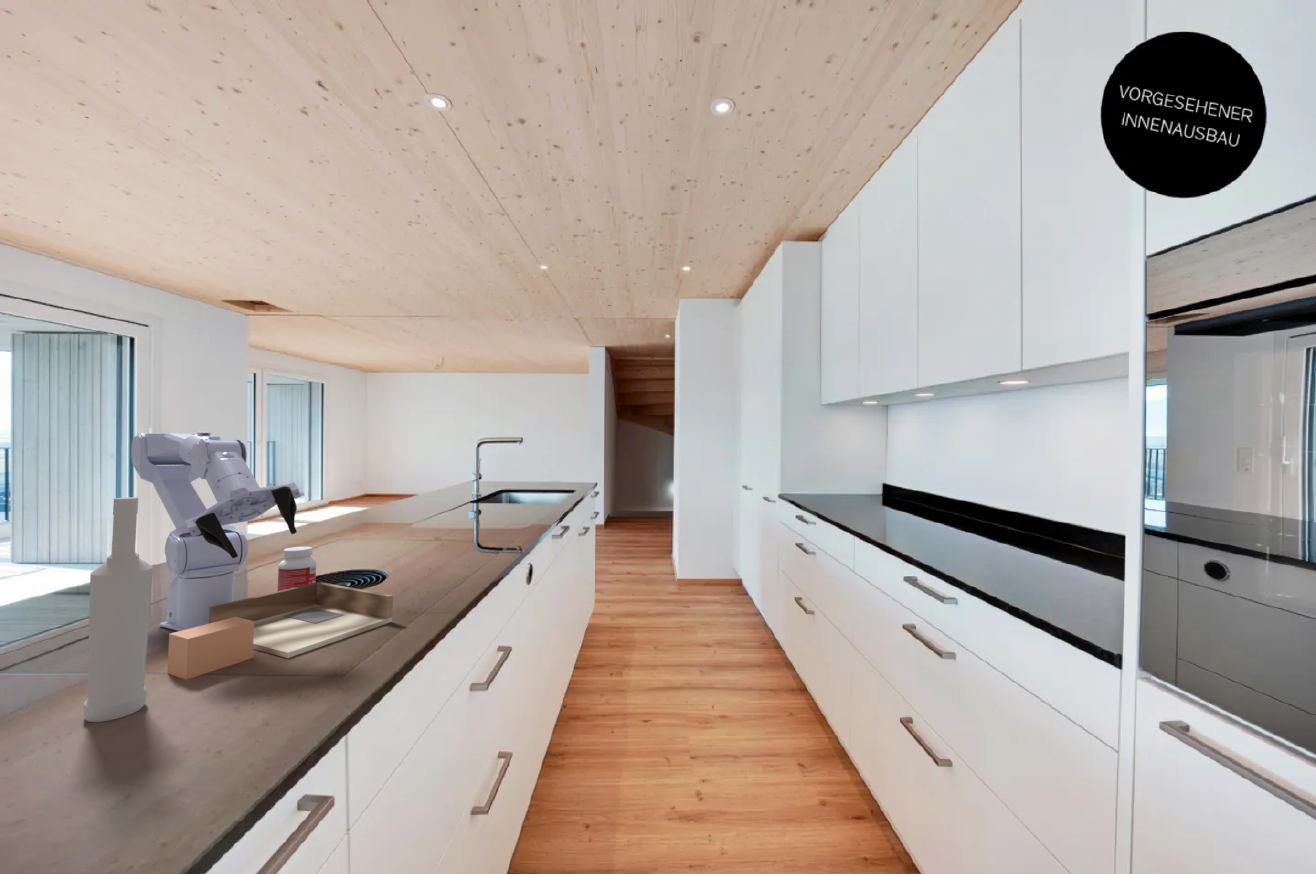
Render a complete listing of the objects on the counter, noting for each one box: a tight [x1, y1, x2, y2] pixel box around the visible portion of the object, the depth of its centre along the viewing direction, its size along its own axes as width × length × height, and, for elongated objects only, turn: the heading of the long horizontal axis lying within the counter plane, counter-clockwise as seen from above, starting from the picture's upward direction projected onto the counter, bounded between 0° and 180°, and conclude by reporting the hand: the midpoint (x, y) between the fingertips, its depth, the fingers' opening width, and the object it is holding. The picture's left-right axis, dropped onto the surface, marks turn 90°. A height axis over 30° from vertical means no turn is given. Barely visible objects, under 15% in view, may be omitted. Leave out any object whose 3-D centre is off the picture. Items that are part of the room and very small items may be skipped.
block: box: [167, 617, 254, 681], centre depth 73 cm, size 8×4×6 cm, turn 157°
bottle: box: [83, 496, 154, 723], centre depth 60 cm, size 5×5×25 cm
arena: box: [209, 581, 394, 659], centre depth 88 cm, size 20×18×5 cm
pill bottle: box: [276, 546, 317, 592], centre depth 101 cm, size 6×6×11 cm
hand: (264, 541), depth 78 cm, fingers open, 7 cm apart
